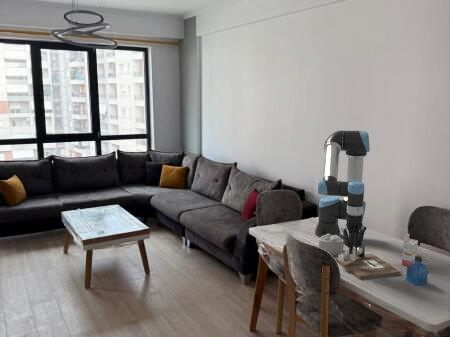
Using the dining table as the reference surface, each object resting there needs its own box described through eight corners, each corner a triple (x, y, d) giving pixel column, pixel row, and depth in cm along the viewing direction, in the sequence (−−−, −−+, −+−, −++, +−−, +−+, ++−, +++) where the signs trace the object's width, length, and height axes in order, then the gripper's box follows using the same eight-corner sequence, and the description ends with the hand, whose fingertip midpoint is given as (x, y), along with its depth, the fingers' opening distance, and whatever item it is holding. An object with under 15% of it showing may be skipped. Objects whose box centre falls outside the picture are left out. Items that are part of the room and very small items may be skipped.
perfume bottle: (416, 285, 185) (419, 260, 182) (405, 280, 190) (408, 255, 188) (426, 283, 187) (429, 258, 185) (415, 278, 193) (417, 253, 190)
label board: (334, 260, 213) (334, 256, 212) (372, 256, 218) (372, 252, 218) (359, 279, 191) (359, 275, 190) (400, 274, 196) (400, 270, 196)
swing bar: (359, 253, 217) (359, 240, 216) (366, 255, 214) (366, 242, 213) (336, 264, 203) (337, 250, 202) (344, 266, 200) (344, 252, 199)
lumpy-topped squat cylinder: (345, 254, 221) (345, 238, 220) (321, 255, 220) (322, 239, 218) (337, 247, 232) (338, 232, 230) (315, 248, 230) (315, 233, 228)
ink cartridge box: (411, 267, 205) (414, 239, 202) (401, 264, 208) (403, 236, 205) (416, 262, 211) (418, 234, 208) (406, 259, 214) (408, 232, 212)
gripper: (346, 217, 193) (344, 264, 198) (371, 214, 197) (368, 261, 201) (338, 212, 201) (336, 258, 205) (362, 210, 204) (359, 255, 208)
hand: (352, 259), depth 203 cm, fingers closed
